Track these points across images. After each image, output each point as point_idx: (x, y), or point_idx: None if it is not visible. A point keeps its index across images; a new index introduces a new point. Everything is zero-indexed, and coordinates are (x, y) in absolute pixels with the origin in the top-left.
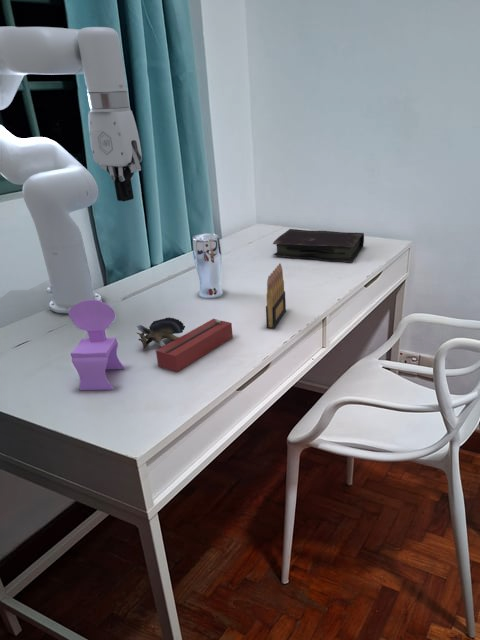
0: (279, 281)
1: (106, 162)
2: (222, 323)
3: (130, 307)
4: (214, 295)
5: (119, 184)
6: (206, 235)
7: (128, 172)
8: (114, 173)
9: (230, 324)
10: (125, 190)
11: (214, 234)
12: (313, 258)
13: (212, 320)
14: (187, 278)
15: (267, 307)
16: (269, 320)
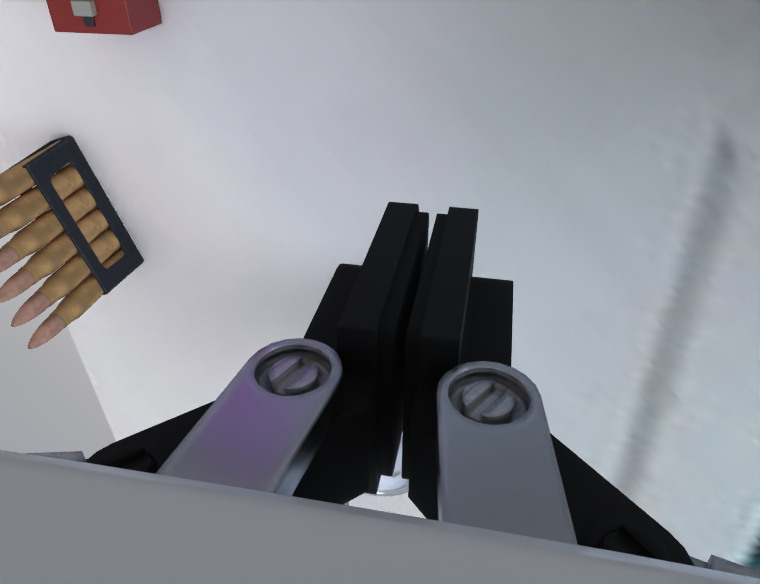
0: (39, 288)
1: (395, 564)
2: (70, 8)
3: (635, 83)
4: None
5: (356, 305)
6: (401, 484)
7: (114, 452)
8: (438, 454)
9: (53, 22)
10: (337, 294)
11: None
12: None
13: (119, 16)
14: (588, 396)
15: (24, 166)
16: (47, 148)
